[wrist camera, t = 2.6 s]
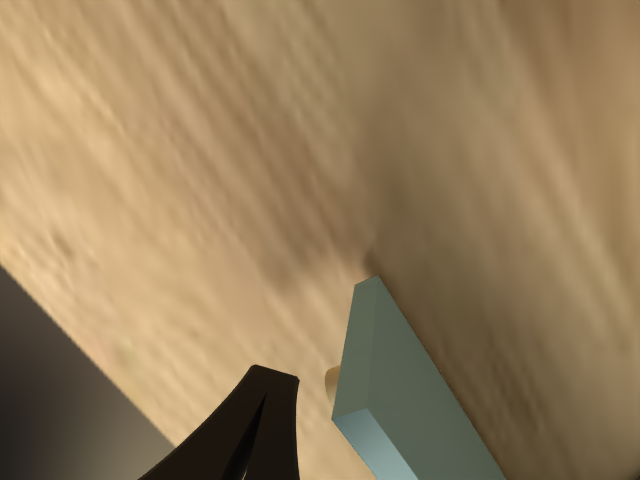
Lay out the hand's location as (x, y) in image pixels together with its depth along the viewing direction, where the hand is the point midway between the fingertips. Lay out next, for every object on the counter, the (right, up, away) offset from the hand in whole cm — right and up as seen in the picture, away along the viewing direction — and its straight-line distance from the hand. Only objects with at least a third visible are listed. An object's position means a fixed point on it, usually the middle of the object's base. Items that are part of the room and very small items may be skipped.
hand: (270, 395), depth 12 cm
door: (+6, -3, +3) cm, 8 cm away
